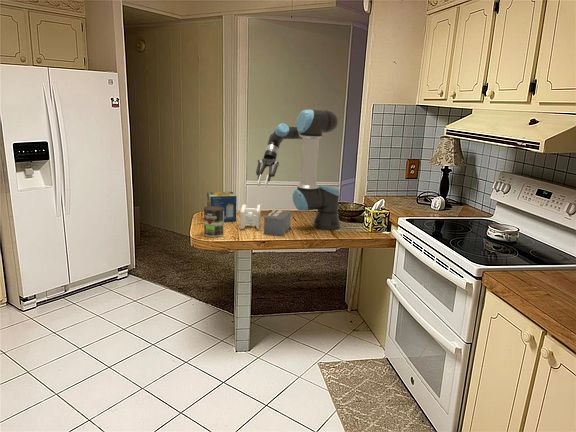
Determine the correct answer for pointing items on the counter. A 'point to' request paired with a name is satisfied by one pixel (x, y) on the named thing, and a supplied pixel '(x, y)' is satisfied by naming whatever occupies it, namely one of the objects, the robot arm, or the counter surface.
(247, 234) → the counter surface
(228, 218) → the protein box
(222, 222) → the coffee can
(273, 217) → the grey box
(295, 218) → the counter surface
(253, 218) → the cable organizer
